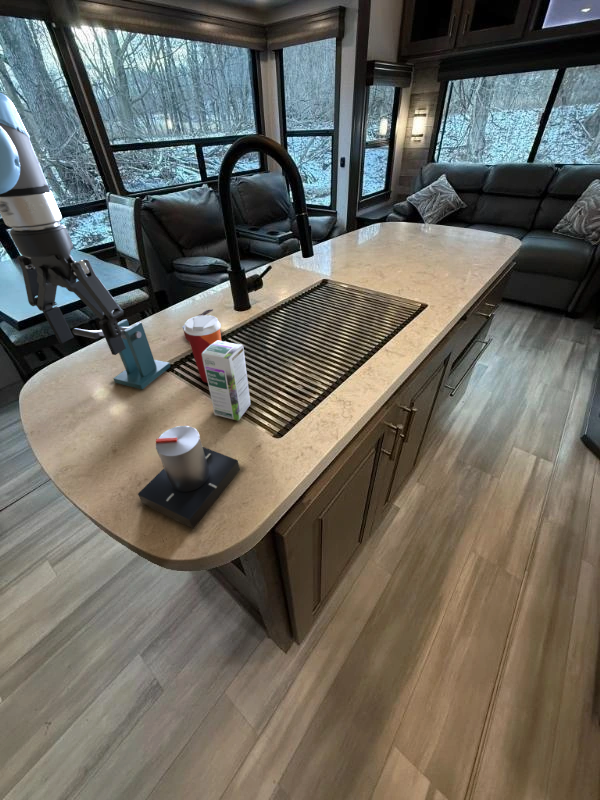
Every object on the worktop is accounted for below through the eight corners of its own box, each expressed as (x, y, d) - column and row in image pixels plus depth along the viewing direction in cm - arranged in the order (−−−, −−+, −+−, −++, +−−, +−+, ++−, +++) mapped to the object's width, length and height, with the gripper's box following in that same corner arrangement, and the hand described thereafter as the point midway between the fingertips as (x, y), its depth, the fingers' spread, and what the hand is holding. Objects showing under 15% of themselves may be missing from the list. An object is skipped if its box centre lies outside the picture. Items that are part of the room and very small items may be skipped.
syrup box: (213, 415, 67) (199, 353, 58) (228, 398, 71) (217, 338, 62) (238, 421, 66) (227, 358, 57) (252, 404, 70) (243, 343, 61)
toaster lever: (94, 342, 62) (93, 329, 62) (72, 337, 64) (72, 324, 63) (143, 340, 73) (143, 329, 73) (123, 336, 75) (123, 325, 74)
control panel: (193, 529, 48) (189, 519, 46) (141, 503, 51) (136, 493, 50) (240, 470, 56) (238, 459, 54) (193, 451, 60) (189, 440, 58)
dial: (211, 460, 55) (201, 422, 49) (206, 490, 50) (195, 452, 45) (174, 462, 54) (160, 425, 49) (166, 493, 49) (149, 456, 44)
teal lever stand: (142, 389, 74) (122, 338, 66) (114, 382, 77) (92, 332, 69) (170, 366, 82) (155, 318, 74) (144, 361, 84) (127, 313, 76)
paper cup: (226, 386, 75) (215, 329, 66) (192, 386, 75) (177, 329, 67) (232, 367, 81) (223, 313, 73) (201, 367, 81) (188, 313, 73)
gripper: (-42, 225, 52) (29, 344, 66) (75, 236, 45) (128, 366, 59) (5, 216, 58) (62, 327, 71) (116, 225, 51) (156, 346, 64)
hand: (92, 345), depth 65 cm, fingers open, 13 cm apart
